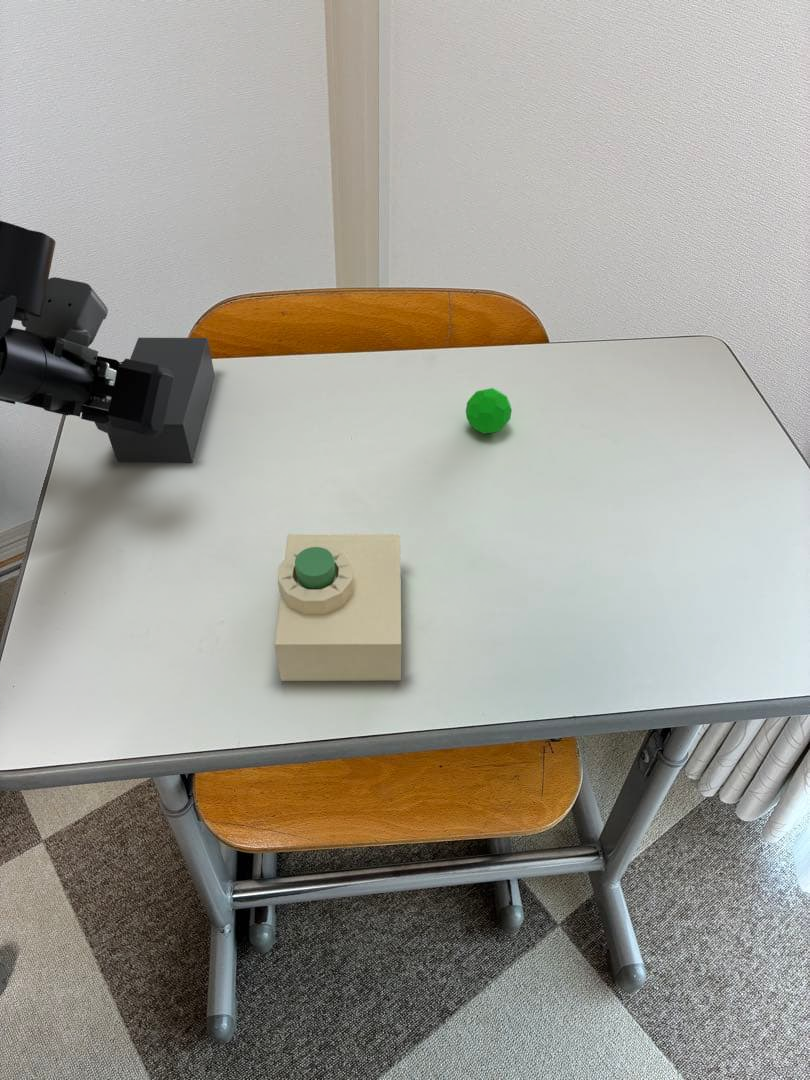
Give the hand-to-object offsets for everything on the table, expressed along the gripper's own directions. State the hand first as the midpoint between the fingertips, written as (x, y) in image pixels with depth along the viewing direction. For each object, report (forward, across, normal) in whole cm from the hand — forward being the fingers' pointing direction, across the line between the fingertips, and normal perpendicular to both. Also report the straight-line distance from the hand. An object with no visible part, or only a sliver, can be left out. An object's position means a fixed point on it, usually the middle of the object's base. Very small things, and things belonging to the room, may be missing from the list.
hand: (122, 397), depth 81 cm
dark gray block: (+9, +1, +1) cm, 9 cm away
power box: (-5, -29, +15) cm, 33 cm away
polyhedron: (+17, -34, -6) cm, 39 cm away
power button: (-10, -27, +11) cm, 31 cm away
